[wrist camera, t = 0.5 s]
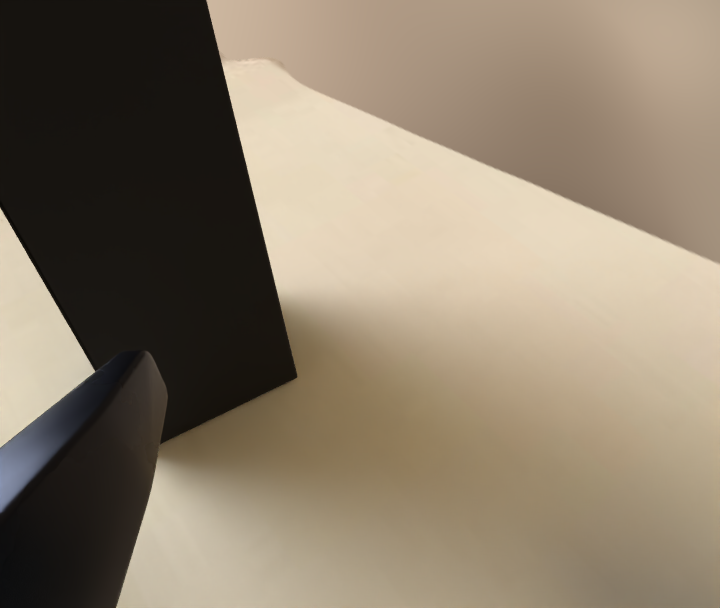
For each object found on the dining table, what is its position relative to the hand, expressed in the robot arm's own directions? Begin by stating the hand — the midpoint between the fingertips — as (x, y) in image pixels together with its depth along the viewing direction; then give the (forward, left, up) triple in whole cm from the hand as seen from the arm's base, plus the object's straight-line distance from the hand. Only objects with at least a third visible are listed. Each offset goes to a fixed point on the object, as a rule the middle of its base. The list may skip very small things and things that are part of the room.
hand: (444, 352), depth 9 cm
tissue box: (+15, +10, -16) cm, 24 cm away
